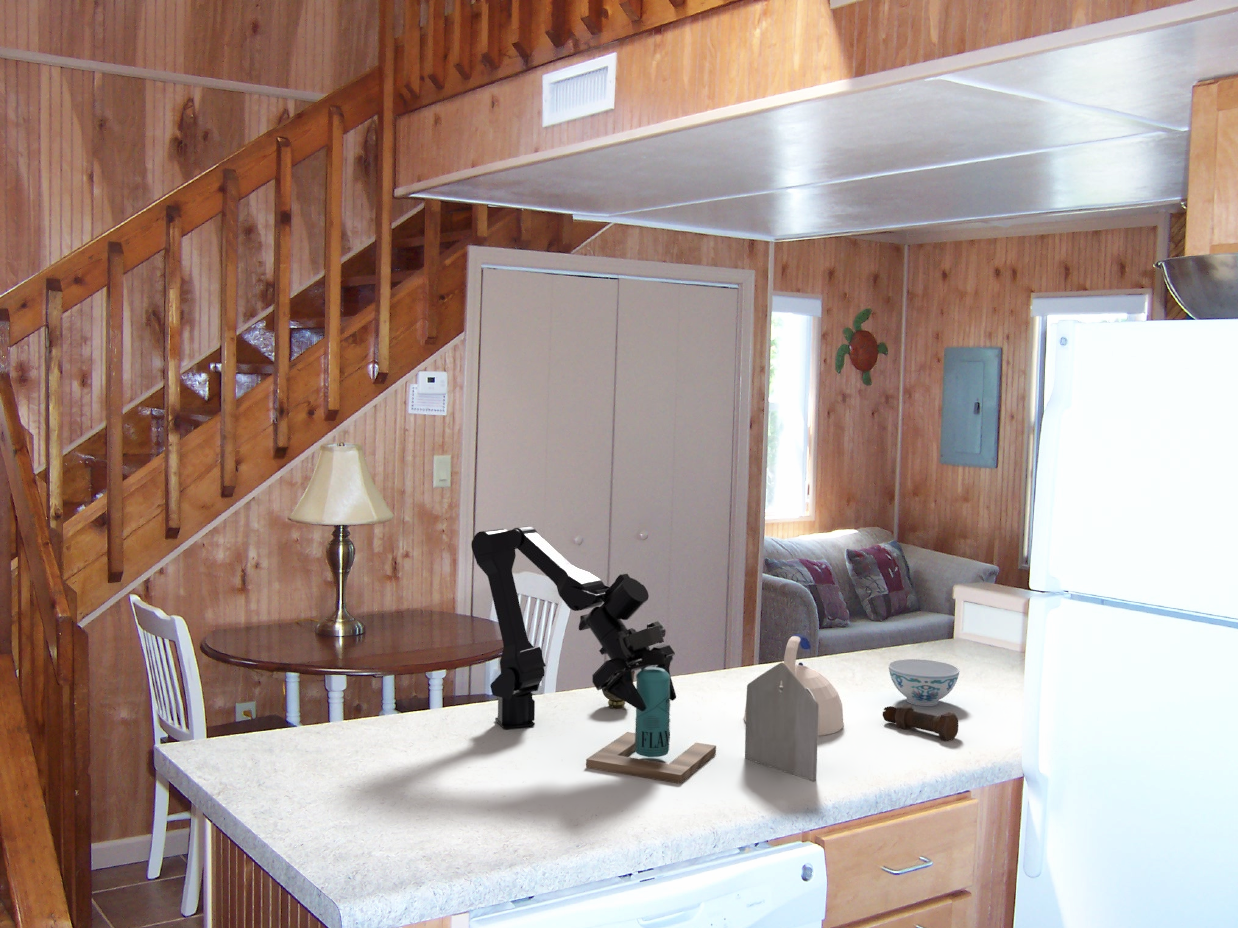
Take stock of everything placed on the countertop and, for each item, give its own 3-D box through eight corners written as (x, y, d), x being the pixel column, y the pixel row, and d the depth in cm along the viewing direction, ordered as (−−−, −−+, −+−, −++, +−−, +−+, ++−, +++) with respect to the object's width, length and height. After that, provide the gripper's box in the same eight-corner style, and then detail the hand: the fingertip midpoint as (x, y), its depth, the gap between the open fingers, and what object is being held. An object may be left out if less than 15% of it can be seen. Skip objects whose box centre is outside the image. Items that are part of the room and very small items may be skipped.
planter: (842, 772, 202) (845, 664, 200) (814, 781, 196) (817, 671, 195) (772, 749, 214) (775, 648, 213) (743, 757, 209) (746, 654, 207)
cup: (633, 711, 237) (634, 673, 236) (598, 710, 237) (599, 673, 236) (634, 701, 244) (634, 665, 244) (599, 700, 244) (600, 664, 244)
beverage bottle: (635, 765, 203) (637, 655, 202) (632, 754, 209) (634, 646, 208) (672, 765, 203) (673, 655, 202) (667, 753, 210) (669, 646, 209)
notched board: (680, 783, 194) (680, 774, 194) (586, 767, 202) (586, 758, 202) (715, 753, 211) (715, 745, 211) (627, 739, 218) (627, 731, 218)
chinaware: (966, 699, 251) (967, 665, 250) (946, 715, 238) (947, 679, 238) (900, 689, 259) (901, 655, 258) (877, 703, 246) (878, 668, 246)
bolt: (888, 730, 233) (953, 746, 222) (875, 722, 230) (941, 737, 219) (896, 703, 235) (961, 717, 224) (884, 695, 232) (949, 708, 221)
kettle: (731, 729, 226) (733, 640, 225) (758, 703, 245) (760, 621, 244) (832, 743, 218) (835, 651, 217) (852, 715, 237) (855, 630, 236)
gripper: (606, 616, 199) (655, 689, 193) (667, 601, 214) (715, 669, 208) (571, 653, 205) (618, 725, 199) (633, 636, 219) (679, 703, 213)
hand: (659, 704), depth 205 cm, fingers open, 9 cm apart
